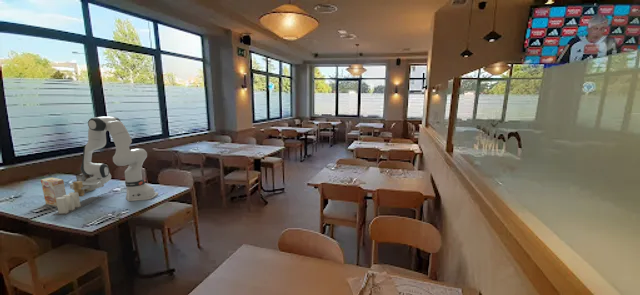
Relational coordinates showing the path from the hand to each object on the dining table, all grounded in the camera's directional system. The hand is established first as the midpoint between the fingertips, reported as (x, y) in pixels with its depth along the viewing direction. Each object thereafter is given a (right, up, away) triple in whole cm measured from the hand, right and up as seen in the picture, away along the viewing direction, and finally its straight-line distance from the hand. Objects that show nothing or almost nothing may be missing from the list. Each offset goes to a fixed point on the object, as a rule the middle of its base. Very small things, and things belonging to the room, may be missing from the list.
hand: (77, 188), depth 197 cm
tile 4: (+1, -15, -11) cm, 19 cm away
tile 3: (+1, -14, -7) cm, 16 cm away
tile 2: (0, -13, -2) cm, 13 cm away
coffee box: (-20, -8, +31) cm, 38 cm away
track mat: (0, -13, +1) cm, 13 cm away
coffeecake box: (-21, -13, +6) cm, 25 cm away
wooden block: (0, -6, +2) cm, 6 cm away
